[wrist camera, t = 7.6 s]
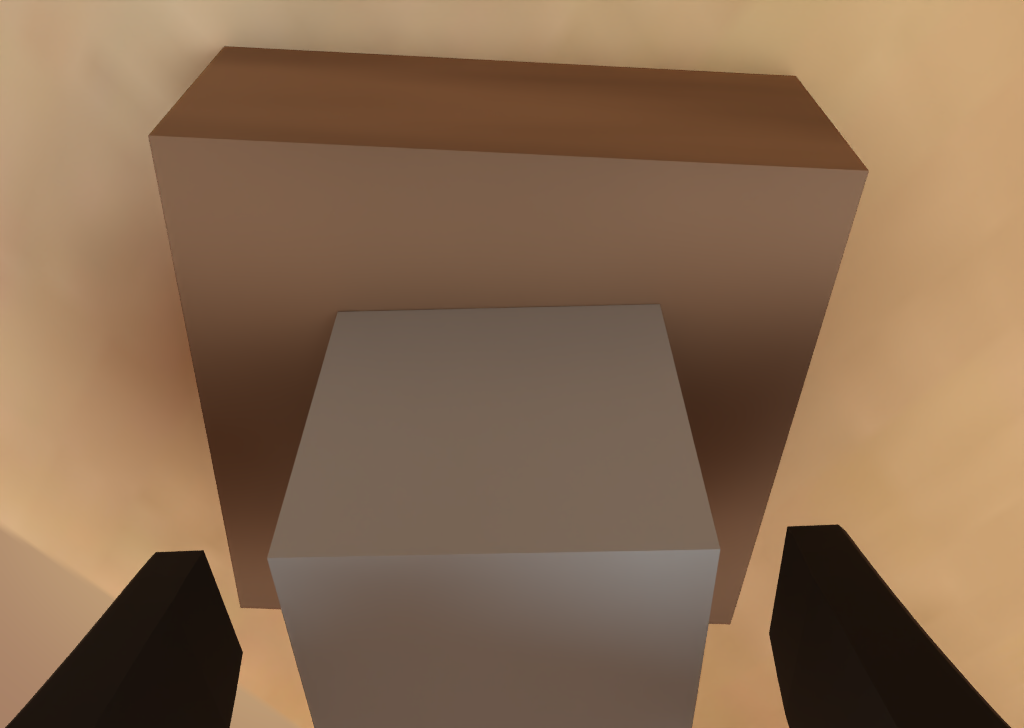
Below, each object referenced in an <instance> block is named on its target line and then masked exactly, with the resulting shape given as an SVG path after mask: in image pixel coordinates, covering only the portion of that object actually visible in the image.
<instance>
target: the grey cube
mask: <svg viewBox="0 0 1024 728" xmlns="http://www.w3.org/2000/svg"><path fill="white" fill-rule="evenodd" d="M719 555H720V546H719V542H718V538H717V534H716V530H715V526H714V522H713V518H712V514H711V509H710V505H709V501H708V497H707V493H706V489H705V485H704V481H703V477H702V473H701V469H700V465H699V461H698V457H697V453H696V449H695V445H694V441H693V437H692V432H691V428H690V424H689V420H688V416H687V412H686V408H685V404H684V400H683V396H682V392H681V388H680V384H679V380H678V376H677V372H676V368H675V364H674V360H673V355H672V351H671V347H670V343H669V339H668V335H667V331H666V327H665V323H664V319H663V315H662V311H661V307H660V304H644V305H602V306H560V307H518V308H476V309H434V310H392V311H350V312H337V316H336V319H335V323H334V326H333V330H332V333H331V337H330V340H329V344H328V347H327V351H326V354H325V358H324V361H323V365H322V368H321V372H320V375H319V379H318V382H317V386H316V389H315V392H314V396H313V399H312V403H311V406H310V410H309V413H308V417H307V420H306V424H305V427H304V431H303V434H302V438H301V441H300V445H299V448H298V452H297V455H296V459H295V462H294V466H293V469H292V473H291V476H290V480H289V483H288V487H287V490H286V494H285V497H284V501H283V504H282V508H281V511H280V515H279V518H278V522H277V525H276V529H275V532H274V536H273V539H272V543H271V546H270V550H269V553H268V557H267V560H268V563H269V567H270V570H271V574H272V578H273V581H274V585H275V588H276V592H277V595H278V599H279V603H280V606H281V610H282V613H283V617H284V620H285V624H286V628H287V631H288V635H289V638H290V642H291V646H292V649H293V653H294V656H295V660H296V663H297V667H298V671H299V674H300V678H301V681H302V685H303V688H304V692H305V696H306V699H307V703H308V706H309V710H310V714H311V717H312V721H313V724H314V728H692V724H693V717H694V711H695V705H696V699H697V692H698V686H699V680H700V674H701V667H702V661H703V655H704V649H705V642H706V636H707V630H708V623H709V617H710V611H711V605H712V598H713V592H714V586H715V580H716V573H717V567H718V561H719Z"/></svg>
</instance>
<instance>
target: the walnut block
mask: <svg viewBox="0 0 1024 728" xmlns="http://www.w3.org/2000/svg"><path fill="white" fill-rule="evenodd" d="M148 136H149V141H150V146H151V151H152V157H153V162H154V167H155V172H156V177H157V182H158V187H159V192H160V197H161V203H162V208H163V213H164V218H165V223H166V228H167V233H168V238H169V244H170V249H171V254H172V259H173V264H174V269H175V274H176V279H177V284H178V290H179V295H180V300H181V305H182V310H183V315H184V320H185V325H186V331H187V336H188V341H189V346H190V351H191V356H192V361H193V366H194V372H195V377H196V382H197V387H198V392H199V397H200V402H201V407H202V412H203V418H204V423H205V428H206V433H207V438H208V443H209V448H210V453H211V459H212V464H213V469H214V474H215V479H216V484H217V489H218V494H219V499H220V505H221V510H222V515H223V520H224V525H225V530H226V535H227V540H228V546H229V551H230V556H231V561H232V566H233V571H234V576H235V581H236V587H237V592H238V597H239V602H240V607H241V608H262V609H281V606H280V603H279V599H278V595H277V592H276V588H275V585H274V581H273V578H272V574H271V570H270V567H269V563H268V560H267V557H268V553H269V550H270V546H271V543H272V539H273V536H274V532H275V529H276V525H277V522H278V518H279V515H280V511H281V508H282V504H283V501H284V497H285V494H286V490H287V487H288V483H289V480H290V476H291V473H292V469H293V466H294V462H295V459H296V455H297V452H298V448H299V445H300V441H301V438H302V434H303V431H304V427H305V424H306V420H307V417H308V413H309V410H310V406H311V403H312V399H313V396H314V392H315V389H316V386H317V382H318V379H319V375H320V372H321V368H322V365H323V361H324V358H325V354H326V351H327V347H328V344H329V340H330V337H331V333H332V330H333V326H334V323H335V319H336V316H337V312H350V311H392V310H434V309H476V308H518V307H560V306H602V305H644V304H660V307H661V311H662V315H663V319H664V323H665V327H666V331H667V335H668V339H669V343H670V347H671V351H672V355H673V360H674V364H675V368H676V372H677V376H678V380H679V384H680V388H681V392H682V396H683V400H684V404H685V408H686V412H687V416H688V420H689V424H690V428H691V432H692V437H693V441H694V445H695V449H696V453H697V457H698V461H699V465H700V469H701V473H702V477H703V481H704V485H705V489H706V493H707V497H708V501H709V505H710V509H711V514H712V518H713V522H714V526H715V530H716V534H717V538H718V542H719V546H720V555H719V561H718V567H717V573H716V580H715V586H714V592H713V598H712V605H711V611H710V617H709V623H708V624H730V623H731V620H732V617H733V614H734V610H735V607H736V604H737V600H738V597H739V594H740V591H741V587H742V584H743V581H744V578H745V574H746V571H747V568H748V564H749V561H750V558H751V555H752V551H753V548H754V545H755V542H756V538H757V535H758V532H759V528H760V525H761V522H762V519H763V515H764V512H765V509H766V505H767V502H768V499H769V496H770V492H771V489H772V486H773V483H774V479H775V476H776V473H777V469H778V466H779V463H780V460H781V456H782V453H783V450H784V447H785V443H786V440H787V437H788V433H789V430H790V427H791V424H792V420H793V417H794V414H795V411H796V407H797V404H798V401H799V397H800V394H801V391H802V388H803V384H804V381H805V378H806V374H807V371H808V368H809V365H810V361H811V358H812V355H813V352H814V348H815V345H816V342H817V338H818V335H819V332H820V329H821V325H822V322H823V319H824V316H825V312H826V309H827V306H828V302H829V299H830V296H831V293H832V289H833V286H834V283H835V279H836V276H837V273H838V270H839V266H840V263H841V260H842V257H843V253H844V250H845V247H846V243H847V240H848V237H849V234H850V230H851V227H852V224H853V221H854V217H855V214H856V211H857V207H858V204H859V201H860V198H861V194H862V191H863V188H864V184H865V181H866V178H867V175H868V169H867V168H866V167H865V165H864V164H863V163H862V161H861V160H860V159H859V158H858V156H857V155H856V154H855V152H854V151H853V150H852V148H851V147H850V146H849V145H848V143H847V142H846V141H845V139H844V138H843V137H842V135H841V134H840V133H839V132H838V130H837V129H836V128H835V126H834V125H833V124H832V122H831V121H830V120H829V119H828V117H827V116H826V115H825V113H824V112H823V111H822V109H821V108H820V107H819V106H818V104H817V103H816V102H815V100H814V99H813V98H812V96H811V95H810V94H809V93H808V91H807V90H806V89H805V87H804V86H803V85H802V83H801V82H800V81H799V80H798V78H797V77H796V76H784V75H764V74H745V73H726V72H707V71H688V70H668V69H649V68H630V67H611V66H591V65H572V64H553V63H534V62H514V61H495V60H476V59H457V58H438V57H418V56H399V55H380V54H361V53H341V52H322V51H303V50H284V49H264V48H245V47H226V46H224V48H223V49H222V50H221V51H220V52H219V53H218V55H217V56H216V57H215V58H214V59H213V60H212V62H211V63H210V64H209V65H208V66H207V68H206V69H205V70H204V71H203V72H202V73H201V75H200V76H199V77H198V78H197V79H196V80H195V82H194V83H193V84H192V85H191V86H190V87H189V89H188V90H187V91H186V92H185V93H184V94H183V96H182V97H181V98H180V99H179V100H178V101H177V103H176V104H175V105H174V106H173V107H172V108H171V110H170V111H169V112H168V113H167V114H166V115H165V117H164V118H163V119H162V120H161V121H160V123H159V124H158V125H157V126H156V127H155V128H154V130H153V131H152V132H151V133H150V134H149V135H148Z"/></svg>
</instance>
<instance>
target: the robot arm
mask: <svg viewBox="0 0 1024 728" xmlns="http://www.w3.org/2000/svg"><path fill="white" fill-rule="evenodd" d="M769 635H770V640H771V645H772V651H773V656H774V661H775V666H776V672H777V677H778V682H779V686H780V691H781V696H782V701H783V705H784V710H785V715H786V718H787V721H788V725H789V728H1011V727H1010V726H1009V725H1008V724H1007V723H1006V722H1005V721H1004V720H1003V719H1002V718H1001V717H1000V716H999V715H998V714H997V712H996V711H995V710H994V709H993V708H992V707H991V706H990V705H989V704H988V703H987V702H986V700H985V699H984V698H983V697H982V696H981V695H980V694H979V693H978V692H977V691H976V690H975V688H974V687H973V686H972V685H971V684H970V683H969V682H968V680H967V679H966V678H965V677H964V676H963V675H962V674H961V672H960V671H959V670H958V669H957V668H956V667H955V666H954V664H953V663H952V662H951V661H950V660H949V659H948V658H947V656H946V655H945V654H944V653H943V652H942V651H941V650H940V648H939V647H938V646H937V645H936V644H935V643H934V642H933V640H932V639H931V638H930V637H929V636H928V634H927V633H926V632H925V631H924V630H923V628H922V627H921V626H920V625H919V624H918V622H917V621H916V620H915V619H914V618H913V616H912V615H911V614H910V613H909V611H908V610H907V609H906V608H905V606H904V605H903V604H902V603H901V602H900V600H899V599H898V598H897V597H896V595H895V594H894V593H893V592H892V590H891V589H890V588H889V587H888V585H887V584H886V583H885V582H884V580H883V579H882V578H881V577H880V575H879V574H878V573H877V571H876V570H875V569H874V568H873V566H872V565H871V564H870V562H869V561H868V560H867V558H866V557H865V556H864V555H863V553H862V552H861V551H860V549H859V548H858V547H857V545H856V544H855V543H854V541H853V540H852V539H851V537H850V536H849V535H848V534H847V532H846V531H845V530H844V529H843V528H842V527H840V526H839V525H816V526H791V527H787V532H786V538H785V544H784V550H783V555H782V561H781V567H780V573H779V579H778V585H777V591H776V596H775V602H774V608H773V614H772V620H771V626H770V632H769ZM242 654H243V652H242V649H241V647H240V644H239V642H238V639H237V636H236V634H235V631H234V628H233V626H232V623H231V621H230V618H229V615H228V613H227V610H226V608H225V605H224V602H223V600H222V597H221V595H220V592H219V589H218V587H217V584H216V582H215V579H214V576H213V574H212V571H211V569H210V566H209V563H208V561H207V558H206V555H205V553H204V550H202V551H178V552H156V553H155V554H154V555H153V556H152V557H151V558H150V559H149V560H148V561H147V563H146V564H145V565H144V566H143V567H142V568H141V570H140V571H139V572H138V573H137V574H136V576H135V577H134V578H133V579H132V580H131V582H130V583H129V584H128V585H127V586H126V588H125V589H124V590H123V591H122V592H121V594H120V595H119V596H118V597H117V598H116V600H115V601H114V602H113V603H112V604H111V606H110V607H109V608H108V609H107V611H106V612H105V613H104V614H103V615H102V617H101V618H100V619H99V620H98V621H97V623H96V624H95V625H94V626H93V627H92V629H91V630H90V631H89V632H88V634H87V635H86V636H85V637H84V638H83V639H82V641H81V642H80V643H79V644H78V645H77V646H76V648H75V649H74V650H73V651H72V652H71V654H70V655H69V656H68V657H67V658H66V659H65V661H64V662H63V663H62V664H61V665H60V666H59V667H58V669H57V670H56V671H55V672H54V673H53V674H52V676H51V677H50V678H49V679H48V680H47V681H46V682H45V684H44V685H43V686H42V687H41V688H40V689H39V690H38V692H37V693H36V694H35V695H34V696H33V698H32V699H31V700H30V701H29V702H28V703H27V704H26V705H25V707H24V708H23V709H22V710H21V711H20V712H19V713H18V714H17V716H16V717H15V718H14V719H13V720H12V721H11V722H10V723H9V724H8V725H7V726H6V727H5V728H230V722H231V717H232V712H233V707H234V701H235V696H236V690H237V684H238V678H239V672H240V666H241V660H242Z"/></svg>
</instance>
